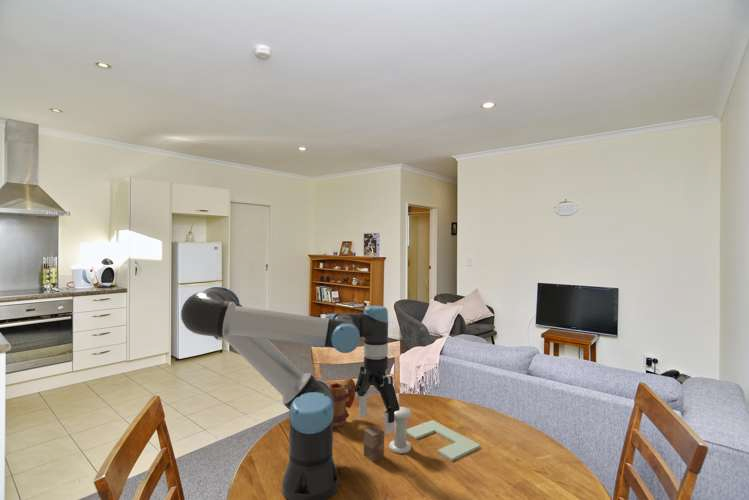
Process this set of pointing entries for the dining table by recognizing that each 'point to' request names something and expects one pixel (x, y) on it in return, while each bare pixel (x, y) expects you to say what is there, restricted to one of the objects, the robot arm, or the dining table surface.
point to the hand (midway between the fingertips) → (375, 423)
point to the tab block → (374, 443)
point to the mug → (342, 400)
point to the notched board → (453, 450)
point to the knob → (400, 431)
